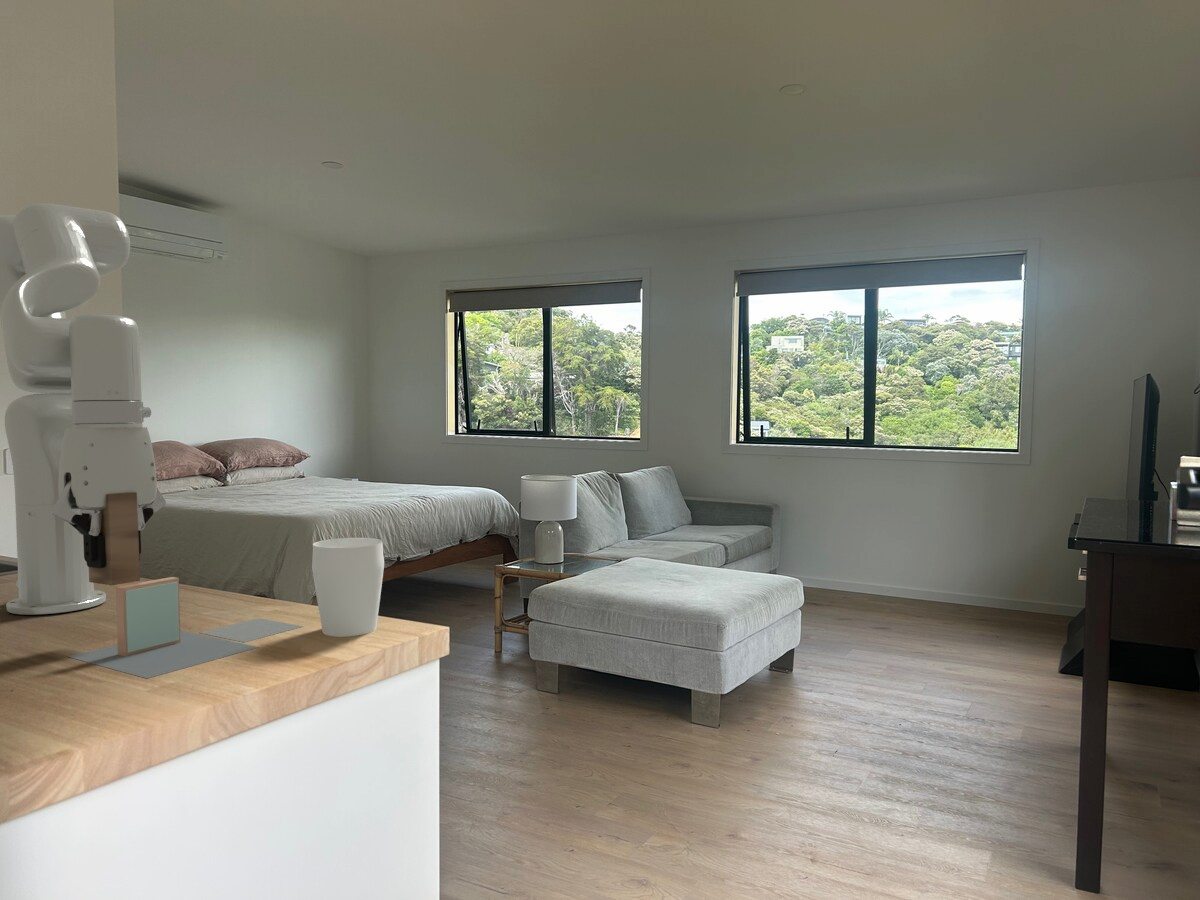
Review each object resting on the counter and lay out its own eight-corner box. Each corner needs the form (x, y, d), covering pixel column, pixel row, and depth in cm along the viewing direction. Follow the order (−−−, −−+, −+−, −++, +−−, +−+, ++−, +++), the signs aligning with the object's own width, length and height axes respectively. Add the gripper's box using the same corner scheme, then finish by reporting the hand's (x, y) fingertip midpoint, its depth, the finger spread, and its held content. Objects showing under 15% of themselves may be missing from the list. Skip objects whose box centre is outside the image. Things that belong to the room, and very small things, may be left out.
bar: (89, 582, 108) (85, 493, 107) (117, 577, 111) (114, 491, 110) (111, 585, 105) (108, 494, 105) (140, 580, 108) (136, 492, 108)
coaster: (199, 637, 112) (199, 632, 112) (259, 622, 120) (259, 618, 120) (244, 647, 107) (244, 642, 107) (303, 630, 115) (303, 626, 115)
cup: (310, 629, 116) (308, 539, 115) (379, 622, 119) (377, 535, 119) (316, 646, 107) (314, 550, 107) (390, 638, 111) (389, 545, 110)
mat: (67, 661, 101) (67, 656, 101) (179, 634, 113) (179, 629, 113) (147, 683, 93) (147, 678, 93) (259, 652, 105) (259, 647, 105)
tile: (117, 654, 102) (115, 586, 102) (173, 640, 108) (171, 576, 108) (125, 656, 101) (123, 588, 101) (181, 642, 107) (179, 578, 107)
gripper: (154, 416, 116) (159, 553, 117) (19, 417, 102) (25, 573, 103) (188, 415, 112) (193, 557, 113) (52, 416, 98) (59, 578, 99)
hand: (113, 563), depth 108 cm, fingers closed on bar, 3 cm apart
